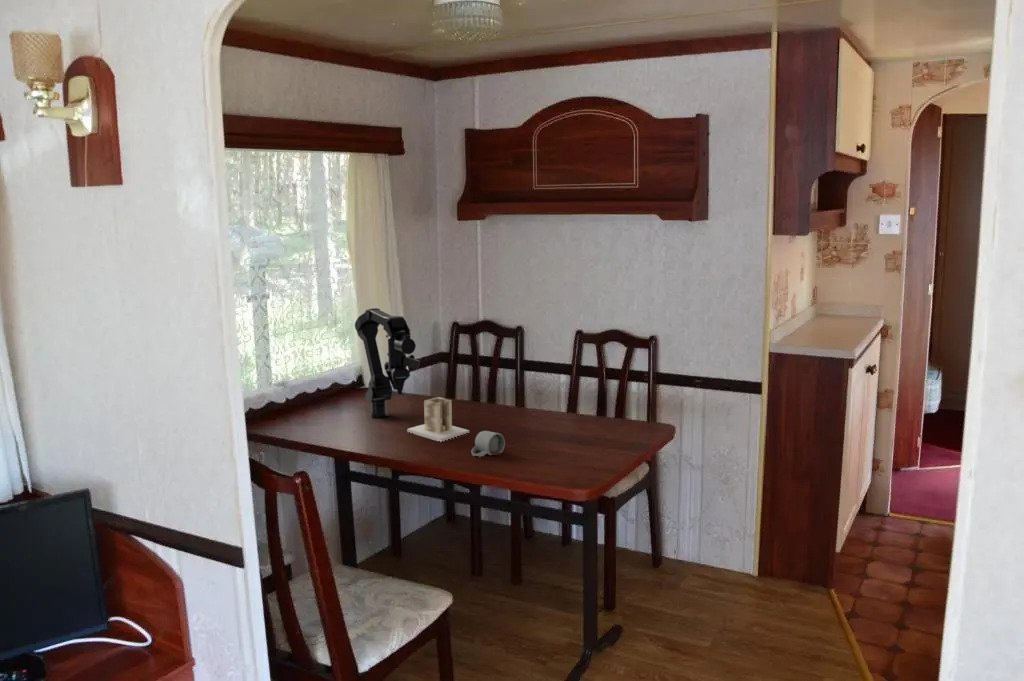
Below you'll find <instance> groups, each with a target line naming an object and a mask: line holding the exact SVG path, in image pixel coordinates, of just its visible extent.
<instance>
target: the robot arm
mask: <svg viewBox="0 0 1024 681" xmlns="http://www.w3.org/2000/svg"><path fill="white" fill-rule="evenodd" d="M380 325H381V326H383V328H382V329H383V330H384V331H385V332H386V335H385V338H386V339H387V350H388V352H386V353H387V356H388V361H386V362H385V363H383V364H384V370H385V372H386V374H387V376H386V375H385V373H384V372H383V367H382V362H381V357H380V352H379V347H378V342H377V336H378V333H379V326H380ZM354 328H355V330H356V333H357V336H358V337H359V338H360V340H362V341H363V344H364V351H365V354H366V361H367V363H368V368H369V373H370V378H369V382H368V389H367V391H366V393H365V401H366V402H369V403H370V410H371V412H369V413H368V414H369V416H370V417H371V418H372V419H374V418H375V419H376V418H386V416H388V417H389V414H388V413H387V401H388V400H389V401H391V400H392V393H393V390H394V391H395V390H396V391H397V395H398V396H399V395H402V394H403V390H404V386H405V381H406V380H408V379H409V378H410V377H411V372H410V370H409V369H407V368H408V367H409V368H413V369H414V370H418V369H419V366H420V363H421V361H420V360H419V359H417V358H415V355H414V354H412V353H414V352H415V350H416V342H415V341H414V340H413V339H412V338H411V329H410V328H409V326H408V323H407V321H406V319H405V317H404V316H401V315H391V314H390V313H386V312H385V311H382V310H381V309H380V308H377V307H376V308H368V309H366V310H365V311H364V313H362V314H361V315H359V316H358V317H357V319H356V320H355V322H354ZM407 355H408V356H407Z"/></svg>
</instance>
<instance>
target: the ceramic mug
mask: <svg viewBox="0 0 1024 681" xmlns="http://www.w3.org/2000/svg"><path fill="white" fill-rule="evenodd" d="M505 446H506V440H505V438H504V436H503V435H502V433H499V432H494V431H489V430H482V431H480V432H478V433H477V435H476V436H475V439H474V446H473V447H472V449H471V455H472V457H474V456H479V457H478V458H481V456H482V457H484V456H486V455H489V456H491V455H492V454H491V453H492V452H498V453H501V454H502V453H503V451H504V449H505ZM477 450H478V451H479V452H478V453H476V451H477Z"/></svg>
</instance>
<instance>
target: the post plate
mask: <svg viewBox="0 0 1024 681" xmlns="http://www.w3.org/2000/svg"><path fill="white" fill-rule="evenodd" d="M406 431H407V433H409V432H410V434H412V433H413V435H416V436H419V437H423V438H426V439H429V440H433V441H437V442H439V441H440V443H442V441H443V442H446V441H449V440H448V439H450V440H452V439H451V438H453V439H455V438H454V437H456V438H458V437H457V436H460V435H463V434H466V433H469V434H470V430H469V429H466V428H462V427H458V426H455V425H452V430H448V431H446V430H445V425H442V433H438V434H437V433H434V432H430V431H427V430H425V423H423V424H419V425H416V426H413V427H409V428H407V429H406ZM466 435H467V434H466ZM463 436H464V435H463ZM460 437H461V436H460ZM445 440H446V441H445Z"/></svg>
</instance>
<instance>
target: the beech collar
mask: <svg viewBox="0 0 1024 681" xmlns="http://www.w3.org/2000/svg"><path fill="white" fill-rule="evenodd" d="M452 401H453V400H452V399H449V398H444V397H440V396H436V397H433V398H429V399H424V401H423V408H424V409H423V411H424V413H423V414H424V415H423V416H424V420H423V421H424V424H425V430H427V431H430V432H434V433H437V434H438V433H442V425H445V430H446V431H448V430H452V426H453V416H452V415H453V414H452V412H453V410H452V406H453V405H452Z"/></svg>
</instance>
